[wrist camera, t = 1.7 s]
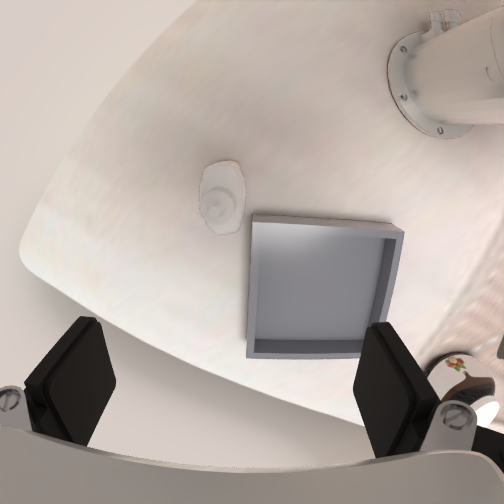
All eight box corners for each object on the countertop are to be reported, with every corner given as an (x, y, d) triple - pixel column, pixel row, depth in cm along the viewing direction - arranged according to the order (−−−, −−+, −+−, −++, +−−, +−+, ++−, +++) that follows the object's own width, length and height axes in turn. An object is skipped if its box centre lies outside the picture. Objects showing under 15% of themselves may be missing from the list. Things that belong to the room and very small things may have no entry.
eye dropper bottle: (198, 205, 32) (167, 238, 20) (219, 154, 30) (199, 157, 19) (237, 222, 32) (229, 264, 21) (260, 171, 31) (264, 185, 19)
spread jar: (476, 347, 38) (515, 392, 27) (451, 400, 42) (480, 446, 31) (416, 354, 38) (452, 410, 27) (393, 411, 42) (417, 465, 30)
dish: (252, 214, 32) (252, 222, 29) (391, 223, 32) (404, 231, 29) (246, 340, 37) (246, 358, 33) (366, 341, 37) (375, 357, 34)
